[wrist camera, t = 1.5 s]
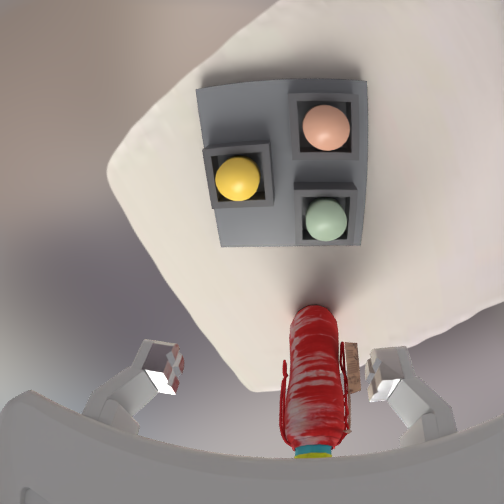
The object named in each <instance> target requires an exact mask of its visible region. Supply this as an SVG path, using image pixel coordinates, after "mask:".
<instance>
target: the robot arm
mask: <svg viewBox="0 0 504 504" xmlns="http://www.w3.org/2000/svg"><path fill="white" fill-rule="evenodd" d="M370 356H371V358H370V359H369V360H367V363H366V366H365V379H366V381H367V382H368V383H369V384H370V385H369V387H368V389H367V391H368V397H369V402H376V401H386V400H387V402H388V404H389V405H390V406H391V407H392V409H393V410H394V411H395V412H396V414H397V415H398V416H399V417H400V419H401V420H402V421H403V423H404V424H405V425H406V426H407V428H408V430H407V431H406V432H405V433H404V434H403V435H402V436H401V437H400V438H399V442H400V448H397V449H392V450H387V451H381V452H374V453H367V454H360V455H351V456H340V457H326V458H264V457H263V458H262V457H250V456H239V455H230V454H223V453H215V452H208V451H203V450H197V449H192V448H187V447H182V446H178V445H173V444H169V443H165V442H161V441H157V440H153V439H150V438H146V437H142V436H139V435H138V432H139V429H140V425H139V423H138V422H137V421H136V420H135V419H134V418H133V416H134V415H135V414H136V413H137V412H138V411H139V410H141V409H142V408H143V407H144V406H145V405H146V404H147V403H148V402H149V401H150V400H151V399H152V398H153V397H154V396H155V395H157V394H158V392H163V393H169V394H176V391H177V388H178V385H179V381H178V377H179V376H181V375H182V373H183V369H184V358H183V356H182V354H180V353H179V346H178V344H174V343H167V342H160V341H155V340H148V339H145V340H144V341H143V342H142V345H141V346H140V349H139V351H138V353H137V355H136V357H135V359H134V361H133V364H132V366H131V367H127V368H126V369H124V370H123V371H121V372H120V373H119V374H117V375H116V376H114V377H113V378H112V379H110V380H109V381H108V382H106V383H104V384H103V385H101V386H100V387H99V388H97V389H96V390H94V391H93V392H92V393H91V396H90V397H89V400H88V402H87V404H86V406H85V408H84V410H83V413H82V414H79V413H77V412H75V411H73V410H70V409H68V408H66V407H64V406H62V405H60V404H58V403H56V402H54V401H52V400H50V399H48V398H46V397H45V396H43V395H41V394H39V393H37V392H35V391H33V390H28V391H26V392H24V393H22V394H20V395H18V396H16V397H15V398H13V399H11V400H10V401H9V402H8V403H7V404H6V405H5V407H4V408H3V409H2V411H1V413H0V504H504V413H503V414H501V415H499V416H496V417H494V418H492V419H490V420H488V421H485V422H483V423H480V424H478V425H475V426H473V427H470V428H467V429H465V430H462V431H460V432H457V428H456V423H455V419H454V415H453V411H452V407H451V406H450V405H449V404H448V403H447V402H446V401H444V400H443V399H442V398H441V397H440V396H439V395H438V394H437V393H436V392H435V391H434V390H433V389H432V388H431V387H430V386H428V385H427V384H426V383H425V382H424V381H423V380H422V379H421V378H420V377H416V375H415V372H414V368H413V365H412V362H411V359H410V355H409V352H408V349H407V347H406V346H401V347H388V348H378V349H373V350H372V351H371V353H370Z"/></svg>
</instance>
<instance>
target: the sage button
mask: <svg viewBox="0 0 504 504" xmlns="http://www.w3.org/2000/svg"><path fill="white" fill-rule="evenodd" d="M305 217H306V227H307V230H308V232H309V233H310V235H311V236H312V237H314V238H315V239H317V240H320V241H331V240H334V239H336V238H338V237H340V236H341V235H342V234H343V232H344V231H345V229H346V226H347V218H346V215H345V212H344V210H343V207H342V205H341V204H340V203H339V202H338V201H337V200H335V199H333V198H331V197H320V198H317V199H315V200H313V201H312V202H311V203H310V204H309V205H308V207H307V209H306V213H305Z"/></svg>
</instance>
